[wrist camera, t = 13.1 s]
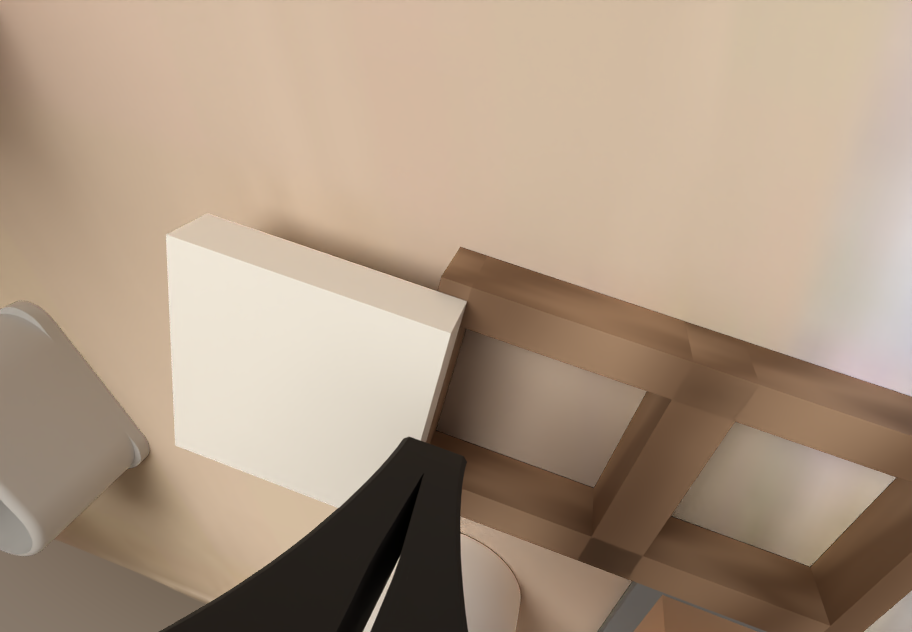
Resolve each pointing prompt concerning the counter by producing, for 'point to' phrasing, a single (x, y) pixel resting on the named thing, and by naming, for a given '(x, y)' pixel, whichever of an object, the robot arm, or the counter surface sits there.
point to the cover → (299, 357)
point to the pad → (643, 609)
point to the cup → (480, 590)
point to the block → (684, 619)
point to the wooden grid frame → (686, 454)
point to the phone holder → (53, 431)
